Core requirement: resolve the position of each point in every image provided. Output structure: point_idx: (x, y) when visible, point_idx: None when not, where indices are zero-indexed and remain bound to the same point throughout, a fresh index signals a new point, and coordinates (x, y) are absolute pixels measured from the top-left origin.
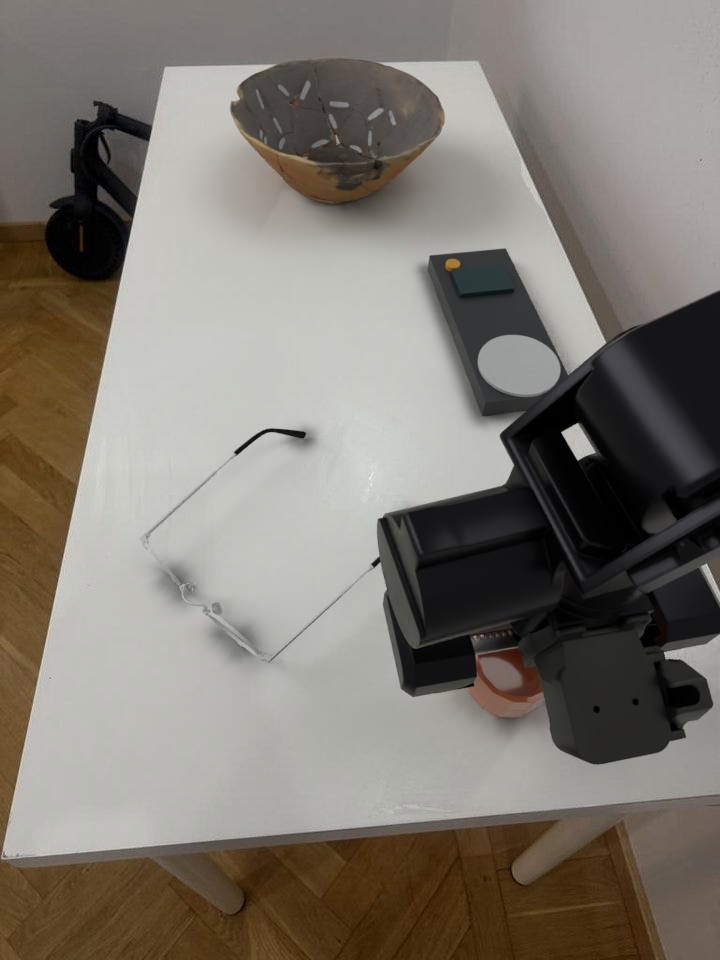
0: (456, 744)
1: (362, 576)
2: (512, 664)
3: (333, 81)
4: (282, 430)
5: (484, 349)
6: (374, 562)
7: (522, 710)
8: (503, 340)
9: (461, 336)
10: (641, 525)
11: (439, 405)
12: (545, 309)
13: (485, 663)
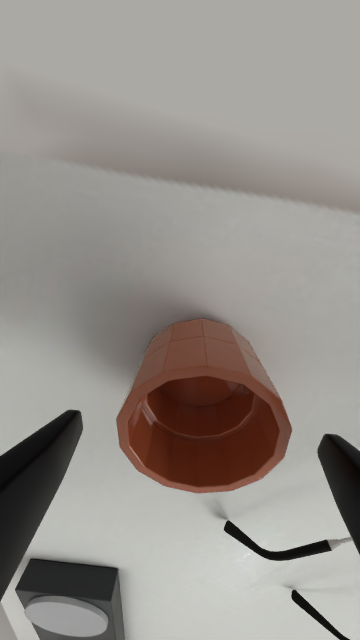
0: (301, 305)
1: (349, 539)
2: (182, 380)
3: None
4: (326, 627)
5: (96, 633)
6: (326, 550)
7: (210, 337)
8: (75, 634)
9: (115, 637)
10: None
11: (154, 581)
12: None
13: (217, 390)
